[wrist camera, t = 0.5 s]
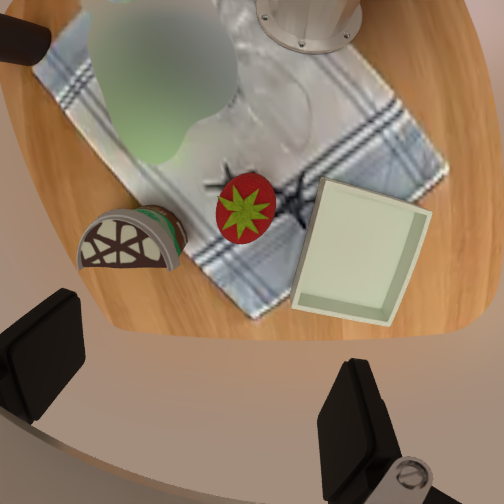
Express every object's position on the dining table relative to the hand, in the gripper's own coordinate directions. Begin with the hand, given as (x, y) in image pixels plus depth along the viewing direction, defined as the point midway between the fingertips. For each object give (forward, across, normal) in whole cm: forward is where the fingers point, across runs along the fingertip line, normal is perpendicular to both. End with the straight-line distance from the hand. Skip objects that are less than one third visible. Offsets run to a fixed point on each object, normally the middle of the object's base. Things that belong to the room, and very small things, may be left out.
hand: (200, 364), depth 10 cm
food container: (+29, +13, +4) cm, 32 cm away
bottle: (+28, +39, -20) cm, 52 cm away
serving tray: (+29, -13, +2) cm, 32 cm away
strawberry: (+29, +1, -1) cm, 29 cm away
